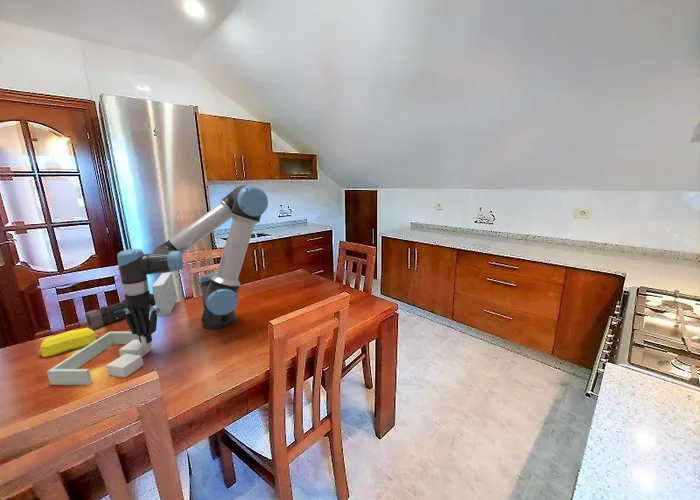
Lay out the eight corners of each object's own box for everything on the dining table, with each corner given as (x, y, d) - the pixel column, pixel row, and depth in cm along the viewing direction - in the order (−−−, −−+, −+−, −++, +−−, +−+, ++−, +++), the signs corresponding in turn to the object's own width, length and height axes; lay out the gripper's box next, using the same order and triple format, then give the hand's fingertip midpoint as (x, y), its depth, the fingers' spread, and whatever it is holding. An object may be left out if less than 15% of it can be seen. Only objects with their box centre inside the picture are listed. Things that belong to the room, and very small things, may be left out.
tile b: (143, 365, 107) (141, 355, 106) (125, 378, 100) (123, 367, 99) (127, 363, 108) (125, 353, 107) (108, 375, 102) (106, 365, 101)
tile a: (152, 349, 117) (150, 340, 116) (139, 359, 110) (137, 350, 109) (134, 348, 117) (133, 339, 116) (120, 359, 111) (118, 349, 110)
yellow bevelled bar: (39, 353, 115) (37, 362, 110) (34, 337, 114) (33, 345, 108) (99, 336, 127) (100, 343, 121) (96, 322, 125) (97, 328, 120)
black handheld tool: (162, 311, 156) (93, 331, 130) (155, 312, 159) (86, 331, 133) (159, 291, 156) (88, 306, 130) (152, 292, 159) (81, 307, 133)
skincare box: (166, 300, 164) (161, 272, 160) (177, 299, 166) (173, 271, 162) (156, 316, 144) (151, 285, 141) (169, 314, 146) (164, 284, 143)
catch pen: (142, 342, 122) (140, 331, 120) (89, 384, 97) (85, 371, 96) (111, 342, 122) (109, 331, 121) (50, 384, 97) (46, 371, 96)
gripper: (161, 288, 112) (170, 344, 117) (126, 288, 112) (137, 344, 117) (148, 295, 104) (158, 355, 110) (110, 296, 104) (123, 355, 110)
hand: (147, 350), depth 113 cm, fingers closed
